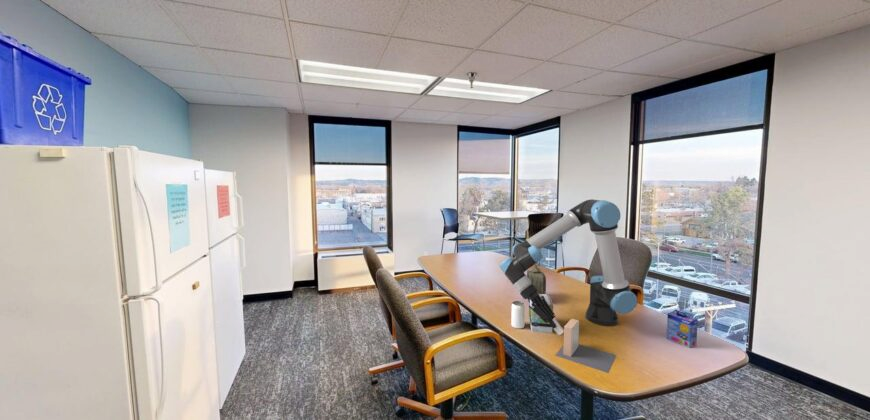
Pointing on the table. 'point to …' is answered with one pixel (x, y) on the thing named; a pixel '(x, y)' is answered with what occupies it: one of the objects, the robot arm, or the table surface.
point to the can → (518, 315)
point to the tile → (571, 337)
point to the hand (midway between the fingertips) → (561, 333)
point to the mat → (590, 357)
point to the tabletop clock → (537, 279)
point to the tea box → (536, 321)
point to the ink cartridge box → (682, 329)
